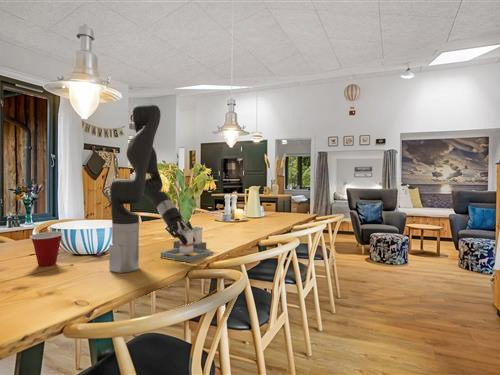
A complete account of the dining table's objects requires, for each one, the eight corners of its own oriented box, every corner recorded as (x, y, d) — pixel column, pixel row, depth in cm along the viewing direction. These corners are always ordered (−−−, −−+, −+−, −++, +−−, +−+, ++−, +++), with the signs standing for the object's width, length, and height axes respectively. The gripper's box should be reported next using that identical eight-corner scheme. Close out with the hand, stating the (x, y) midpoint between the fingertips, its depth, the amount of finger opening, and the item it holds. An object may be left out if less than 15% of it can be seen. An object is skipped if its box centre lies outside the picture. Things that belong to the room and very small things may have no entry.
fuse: (196, 250, 151) (196, 228, 150) (189, 249, 153) (189, 227, 152) (202, 249, 154) (202, 227, 154) (195, 247, 156) (195, 226, 156)
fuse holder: (196, 253, 149) (196, 244, 149) (173, 249, 156) (173, 241, 156) (206, 250, 155) (206, 242, 155) (183, 247, 162) (183, 239, 162)
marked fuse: (186, 254, 138) (186, 230, 138) (179, 253, 141) (179, 230, 140) (193, 252, 142) (193, 229, 142) (185, 251, 144) (186, 228, 144)
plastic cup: (22, 266, 123) (22, 234, 123) (48, 260, 133) (48, 230, 133) (44, 269, 119) (44, 236, 119) (69, 262, 130) (69, 232, 129)
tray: (189, 263, 131) (190, 257, 131) (160, 258, 139) (160, 252, 139) (211, 256, 143) (211, 250, 143) (183, 252, 151) (183, 246, 151)
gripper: (161, 207, 138) (183, 239, 133) (184, 205, 151) (205, 234, 145) (152, 219, 141) (173, 251, 135) (175, 216, 154) (196, 245, 148)
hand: (189, 242), depth 140 cm, fingers open, 4 cm apart
